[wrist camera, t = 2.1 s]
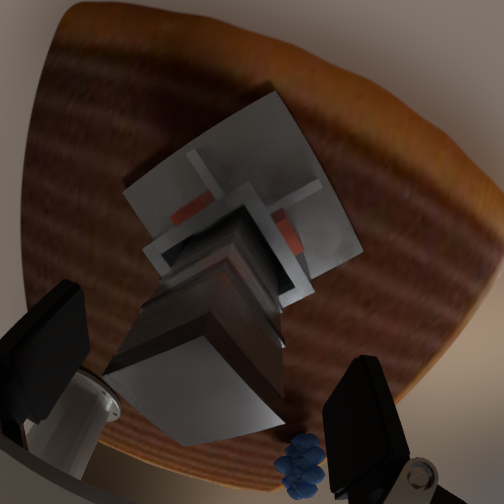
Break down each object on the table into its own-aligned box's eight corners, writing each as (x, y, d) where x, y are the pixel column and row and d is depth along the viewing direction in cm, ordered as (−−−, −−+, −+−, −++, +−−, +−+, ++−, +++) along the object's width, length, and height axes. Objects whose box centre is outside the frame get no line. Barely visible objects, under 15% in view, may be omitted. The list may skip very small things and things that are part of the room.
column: (234, 252, 26) (183, 449, 9) (207, 212, 25) (95, 374, 7) (277, 229, 25) (291, 423, 8) (250, 186, 24) (204, 328, 6)
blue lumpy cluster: (286, 410, 36) (289, 485, 25) (330, 416, 36) (341, 486, 25) (262, 447, 40) (259, 509, 29) (300, 452, 41) (303, 511, 29)
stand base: (219, 319, 30) (199, 399, 20) (127, 190, 25) (55, 225, 15) (360, 247, 26) (406, 311, 16) (274, 92, 22) (280, 58, 12)
